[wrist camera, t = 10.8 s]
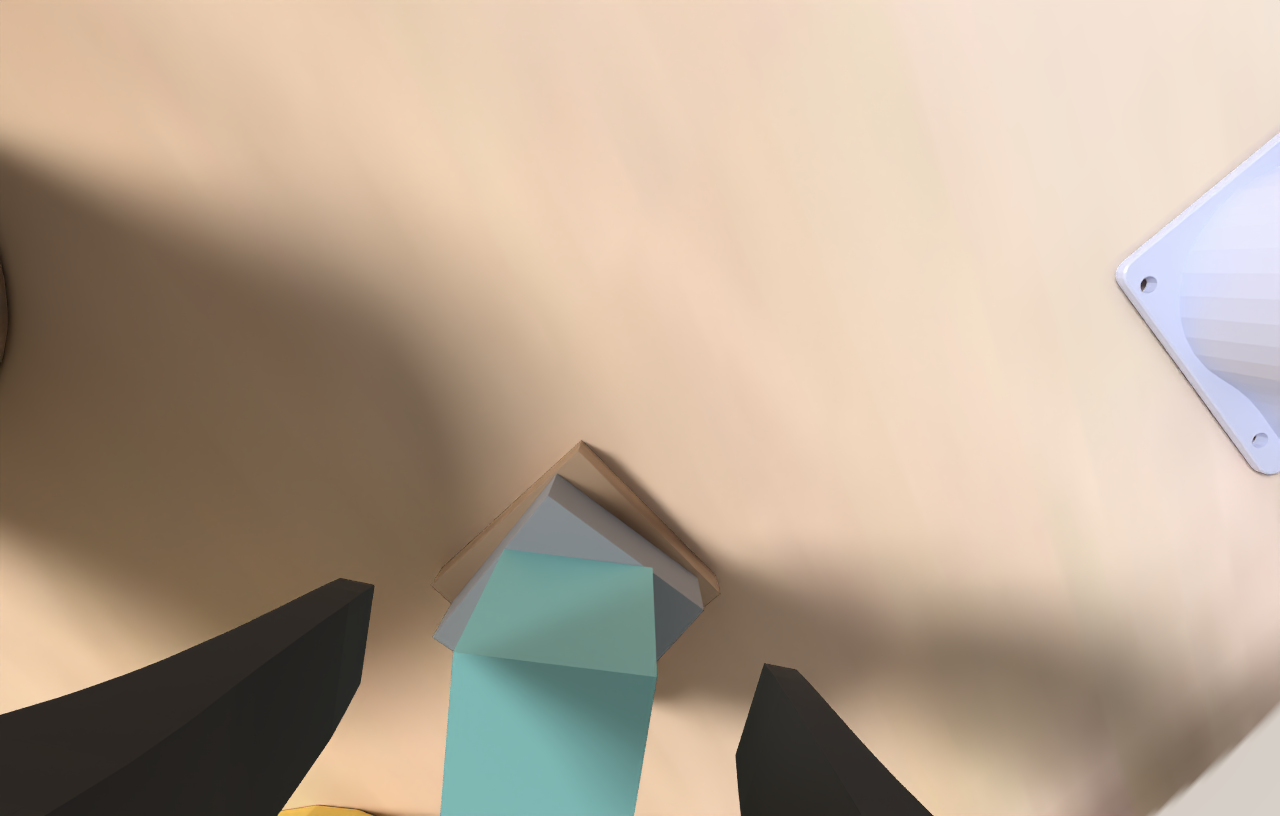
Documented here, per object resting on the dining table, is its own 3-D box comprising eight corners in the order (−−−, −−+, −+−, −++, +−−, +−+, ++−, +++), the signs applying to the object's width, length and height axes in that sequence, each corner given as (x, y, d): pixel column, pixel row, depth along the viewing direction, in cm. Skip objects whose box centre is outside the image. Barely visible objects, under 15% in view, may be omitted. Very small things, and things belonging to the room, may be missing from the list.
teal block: (652, 567, 18) (656, 677, 13) (632, 695, 19) (629, 841, 14) (504, 548, 18) (452, 651, 13) (491, 678, 19) (440, 819, 14)
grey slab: (697, 577, 20) (703, 610, 18) (589, 696, 21) (585, 739, 19) (557, 473, 19) (548, 495, 18) (451, 602, 21) (432, 637, 19)
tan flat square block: (712, 565, 22) (720, 593, 20) (579, 677, 23) (574, 714, 22) (583, 434, 21) (578, 450, 19) (448, 557, 22) (430, 585, 20)
